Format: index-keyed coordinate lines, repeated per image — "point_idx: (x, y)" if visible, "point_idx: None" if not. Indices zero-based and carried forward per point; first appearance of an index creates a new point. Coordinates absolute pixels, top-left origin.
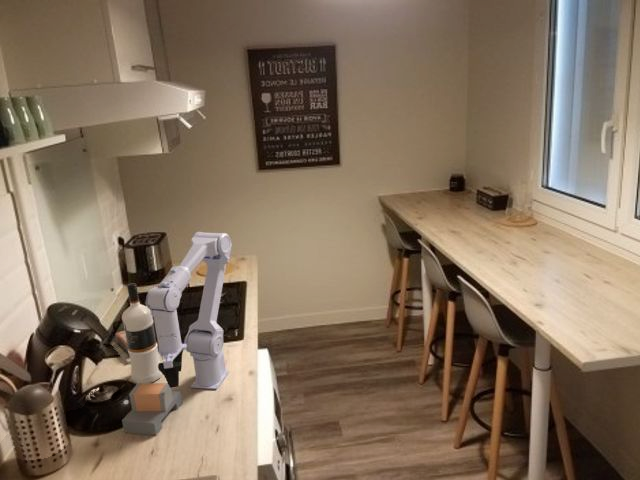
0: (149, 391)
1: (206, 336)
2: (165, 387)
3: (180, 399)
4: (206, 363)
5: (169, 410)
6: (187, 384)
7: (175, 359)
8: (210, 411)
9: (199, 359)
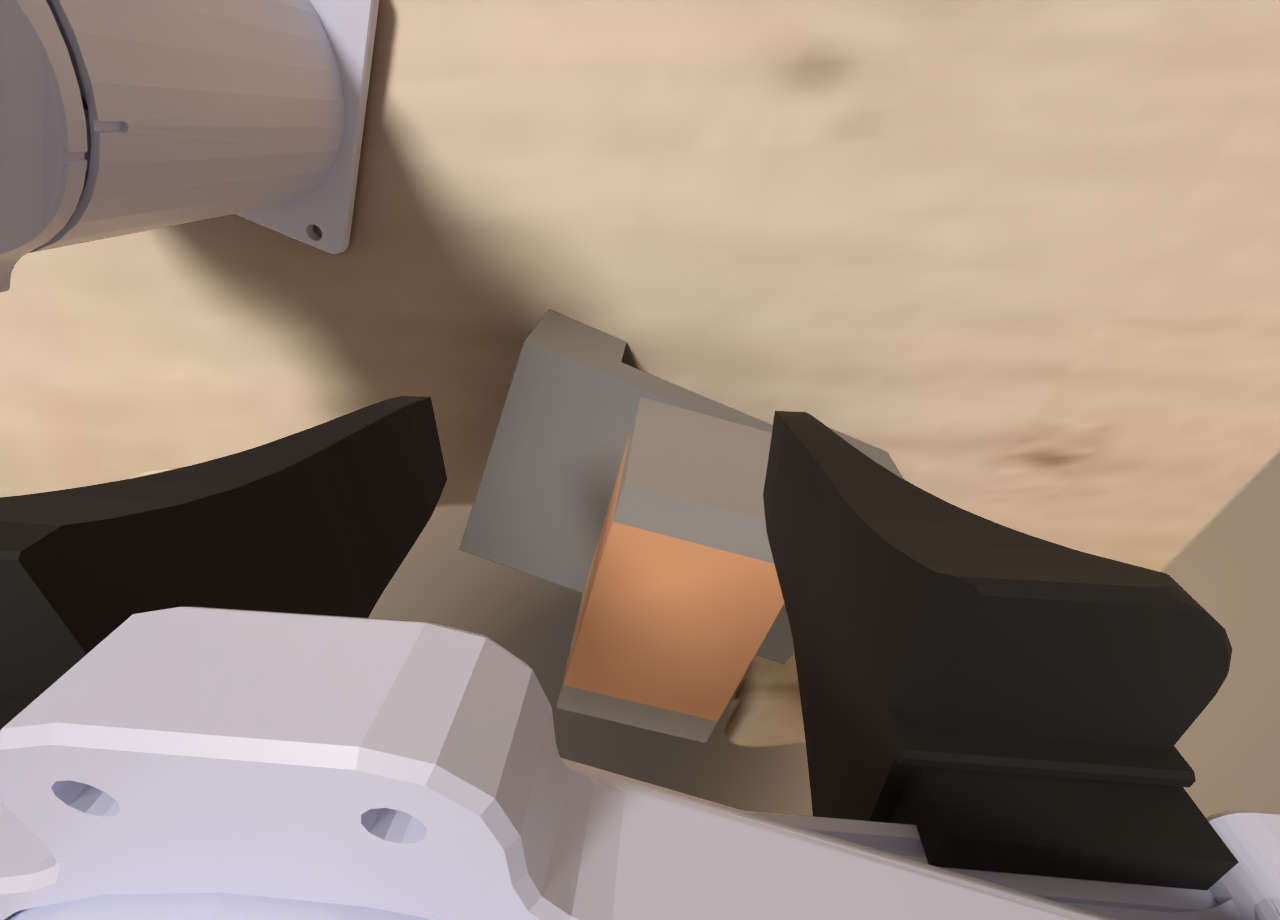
0: (720, 635)
1: None
2: (695, 520)
3: (560, 330)
4: (114, 19)
5: (720, 405)
6: (298, 286)
7: (338, 543)
8: (740, 37)
9: (75, 137)
